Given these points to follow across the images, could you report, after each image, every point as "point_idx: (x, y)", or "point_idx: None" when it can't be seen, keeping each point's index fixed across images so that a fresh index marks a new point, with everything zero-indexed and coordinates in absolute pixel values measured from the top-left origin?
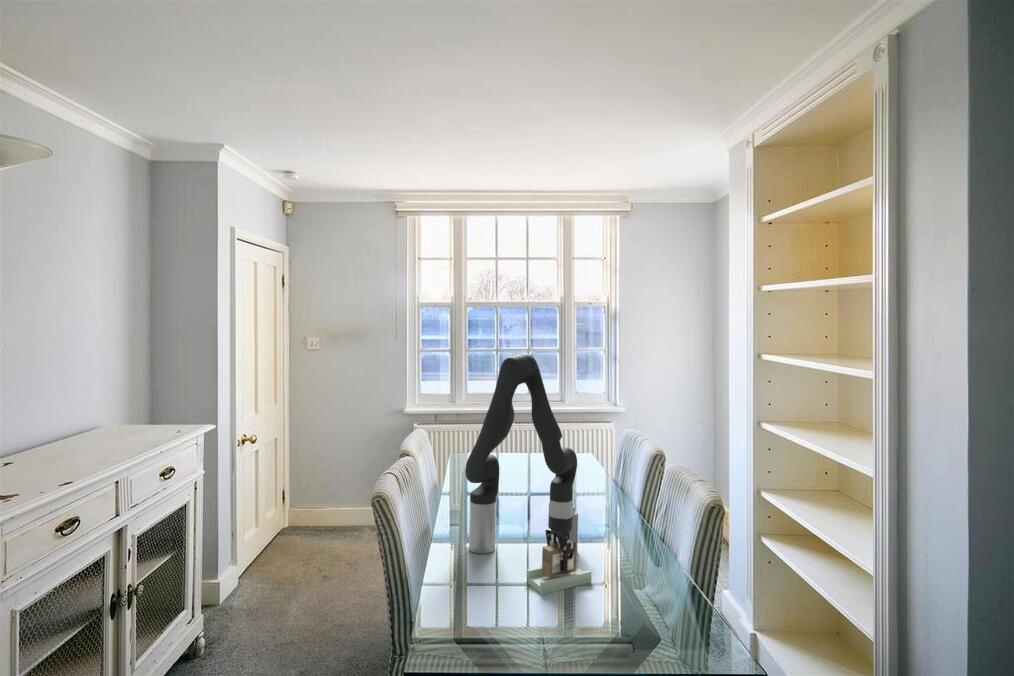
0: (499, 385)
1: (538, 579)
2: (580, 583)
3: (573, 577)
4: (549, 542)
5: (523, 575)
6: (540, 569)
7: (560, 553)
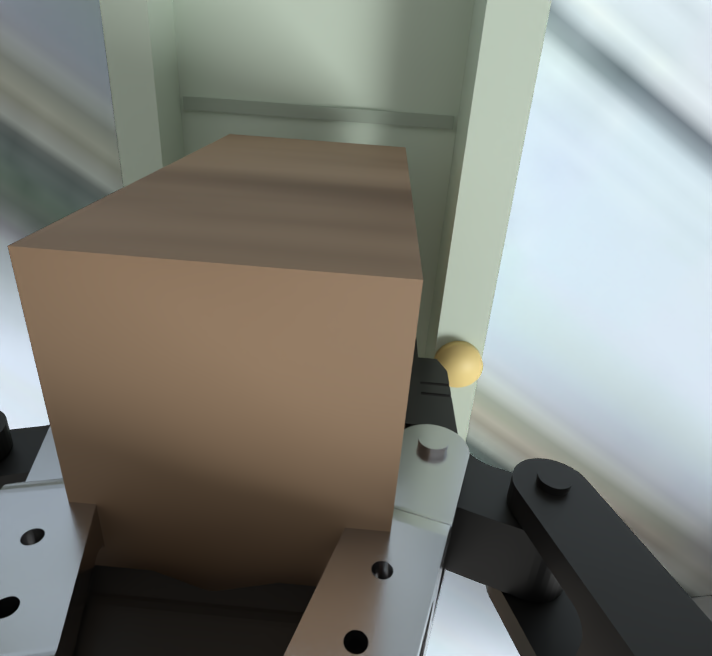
0: None
1: (358, 45)
2: None
3: None
4: (568, 582)
5: (690, 52)
6: (462, 165)
7: None
